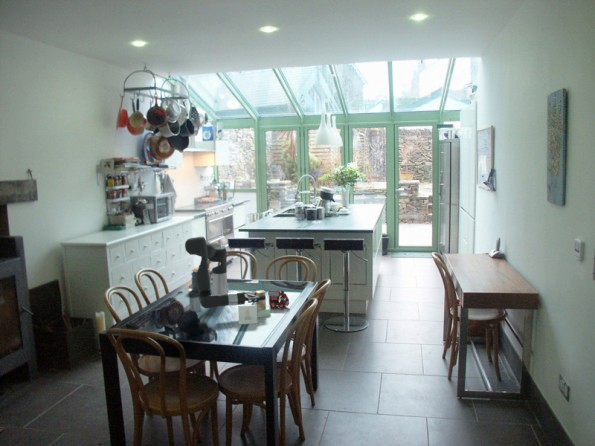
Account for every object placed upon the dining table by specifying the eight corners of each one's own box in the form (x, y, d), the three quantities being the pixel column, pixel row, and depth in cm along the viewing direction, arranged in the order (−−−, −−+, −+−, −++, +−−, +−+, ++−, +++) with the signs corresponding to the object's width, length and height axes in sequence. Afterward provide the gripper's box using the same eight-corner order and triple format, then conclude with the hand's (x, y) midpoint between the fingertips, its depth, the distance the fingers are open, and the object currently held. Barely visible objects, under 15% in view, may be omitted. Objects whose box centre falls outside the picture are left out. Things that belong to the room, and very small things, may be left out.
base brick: (258, 318, 280) (257, 311, 280) (251, 314, 287) (251, 307, 286) (270, 315, 284) (270, 308, 284) (264, 312, 291) (264, 305, 290)
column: (258, 310, 282) (257, 293, 280) (256, 307, 286) (255, 290, 285) (266, 309, 283) (265, 292, 282) (264, 306, 288) (263, 290, 286)
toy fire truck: (287, 309, 294) (287, 292, 293) (267, 309, 296) (266, 292, 294) (289, 306, 301) (289, 289, 299) (269, 305, 303) (269, 289, 301)
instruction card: (238, 324, 269) (238, 306, 268) (238, 322, 272) (238, 304, 271) (257, 323, 270) (256, 305, 269) (257, 321, 273) (256, 304, 272)
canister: (195, 287, 349) (194, 262, 346) (213, 287, 347) (212, 262, 345) (189, 292, 336) (187, 266, 334) (207, 292, 334) (206, 267, 332)
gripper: (237, 295, 273) (266, 292, 277) (233, 288, 286) (261, 286, 291) (238, 308, 274) (266, 305, 278) (234, 301, 287) (261, 298, 292)
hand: (263, 295), depth 285 cm, fingers open, 8 cm apart
